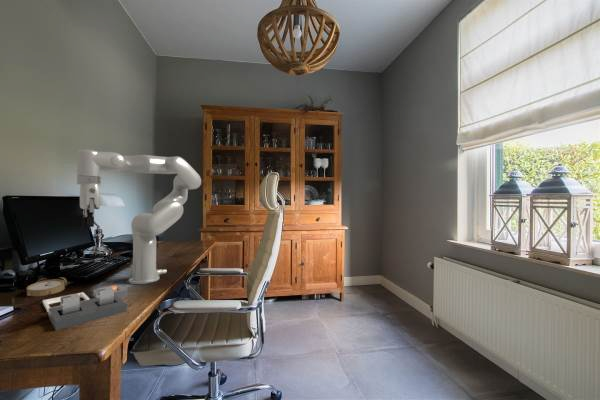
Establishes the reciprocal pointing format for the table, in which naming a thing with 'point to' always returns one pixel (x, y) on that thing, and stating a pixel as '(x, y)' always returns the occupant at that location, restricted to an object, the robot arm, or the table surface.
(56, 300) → the tray
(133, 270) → the robot arm
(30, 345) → the table surface
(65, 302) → the block
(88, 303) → the grey slotted frame
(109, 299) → the billet
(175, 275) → the table surface
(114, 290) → the button cap
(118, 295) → the button housing
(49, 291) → the alarm clock
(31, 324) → the table surface
